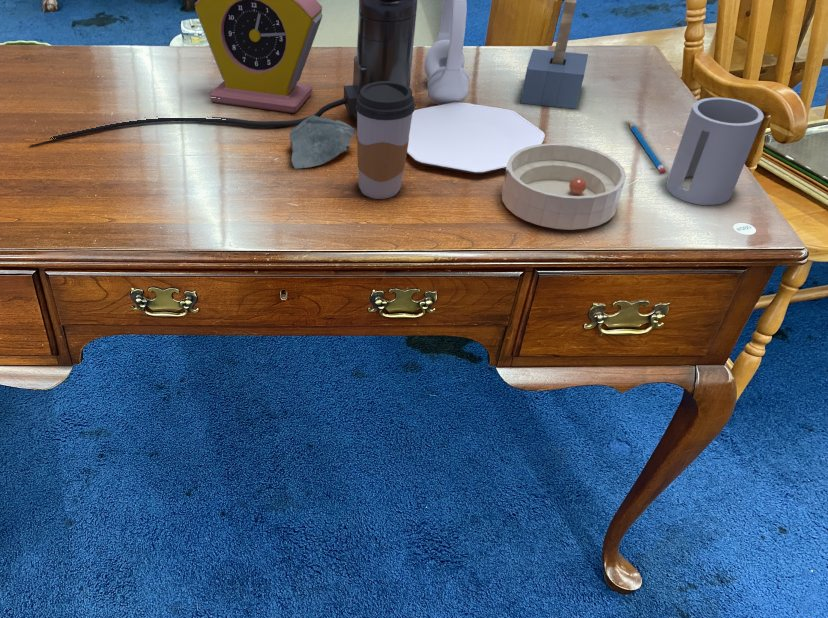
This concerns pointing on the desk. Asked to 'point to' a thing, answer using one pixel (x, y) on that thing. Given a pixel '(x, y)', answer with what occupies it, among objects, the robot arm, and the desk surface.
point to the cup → (714, 150)
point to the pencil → (647, 149)
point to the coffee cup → (383, 136)
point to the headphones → (448, 56)
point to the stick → (564, 31)
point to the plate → (469, 137)
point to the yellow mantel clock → (260, 49)
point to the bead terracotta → (577, 186)
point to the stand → (554, 79)
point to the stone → (319, 141)
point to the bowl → (562, 186)
